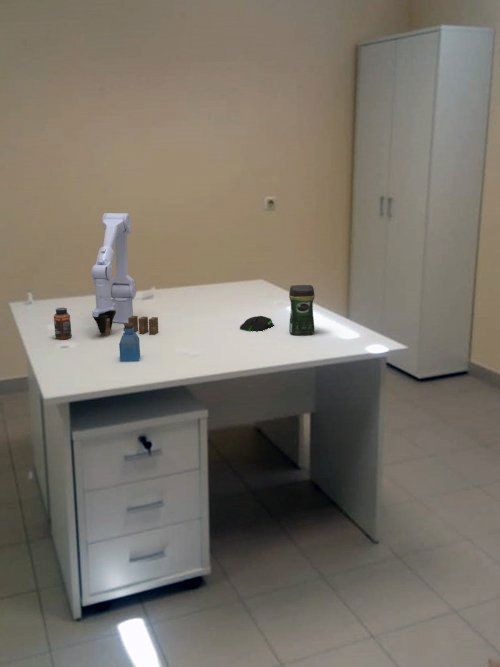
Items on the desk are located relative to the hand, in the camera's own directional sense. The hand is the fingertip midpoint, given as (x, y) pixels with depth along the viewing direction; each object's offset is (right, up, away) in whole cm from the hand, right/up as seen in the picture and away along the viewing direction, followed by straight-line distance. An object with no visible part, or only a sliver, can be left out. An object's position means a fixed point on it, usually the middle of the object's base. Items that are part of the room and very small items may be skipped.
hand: (105, 331), depth 272 cm
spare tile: (0, -1, 0) cm, 1 cm away
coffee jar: (+74, -1, +1) cm, 74 cm away
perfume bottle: (+14, -10, -30) cm, 34 cm away
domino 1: (+10, 0, +4) cm, 11 cm away
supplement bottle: (-15, -3, -4) cm, 16 cm away
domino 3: (+18, -1, +1) cm, 18 cm away
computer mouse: (+59, +1, +11) cm, 60 cm away
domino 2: (+14, -1, +3) cm, 14 cm away
